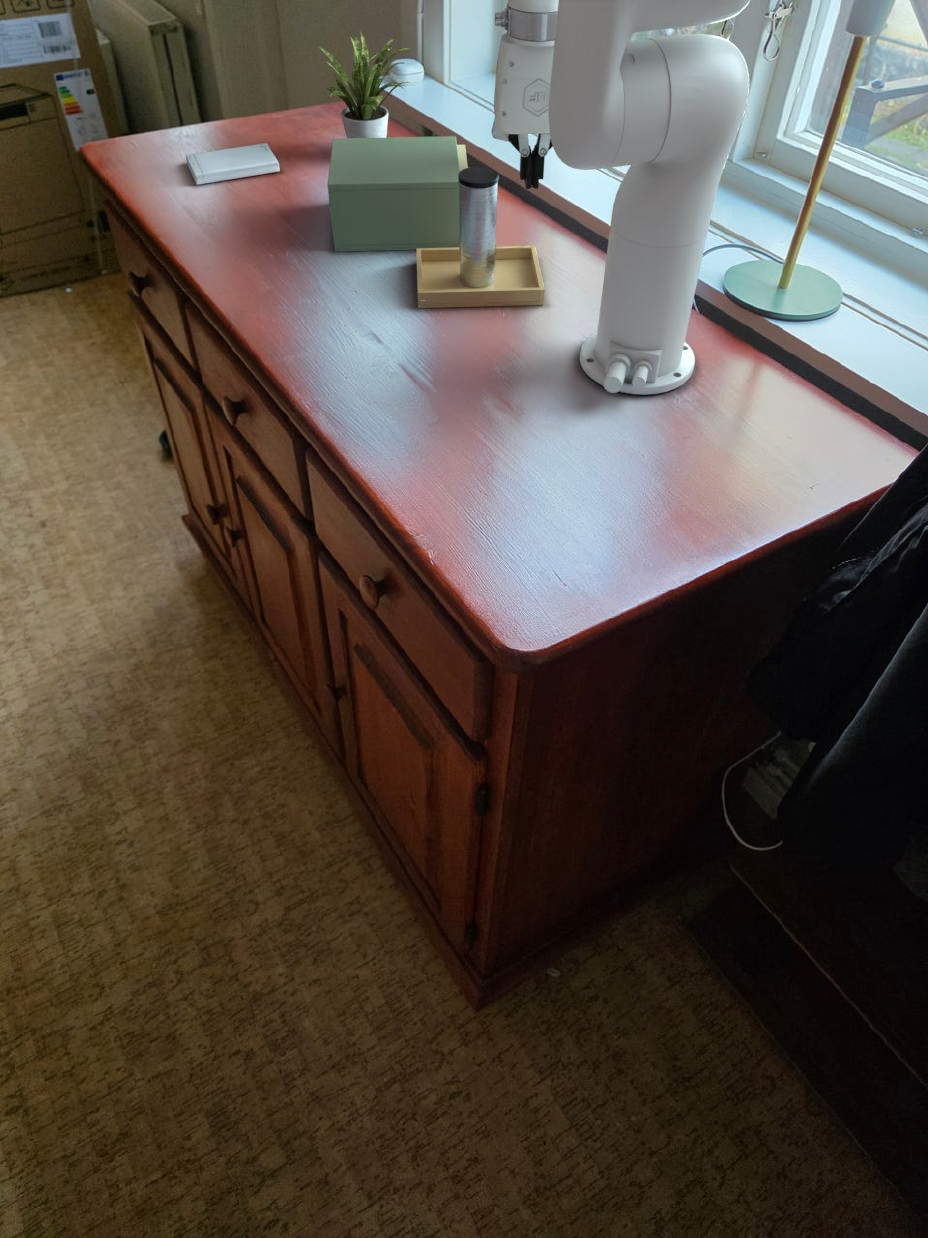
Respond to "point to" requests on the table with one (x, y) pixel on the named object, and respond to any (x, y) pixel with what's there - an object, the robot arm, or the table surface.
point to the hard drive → (232, 163)
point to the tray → (510, 288)
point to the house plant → (364, 92)
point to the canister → (477, 225)
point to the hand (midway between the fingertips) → (531, 184)
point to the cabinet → (394, 193)
